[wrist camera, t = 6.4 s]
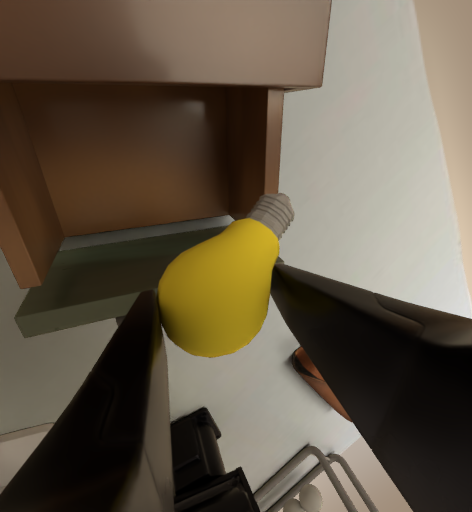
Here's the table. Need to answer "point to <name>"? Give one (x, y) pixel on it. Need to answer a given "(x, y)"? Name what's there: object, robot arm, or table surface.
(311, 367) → the sunglasses case
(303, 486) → the newton's cradle
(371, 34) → the table surface
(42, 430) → the phone holder
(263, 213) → the light bulb
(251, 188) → the drawer
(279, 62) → the cabinet
